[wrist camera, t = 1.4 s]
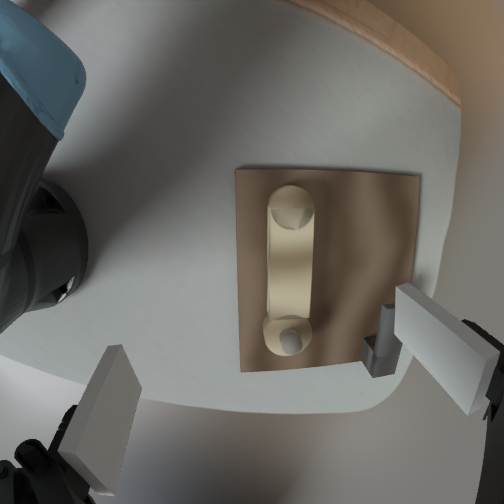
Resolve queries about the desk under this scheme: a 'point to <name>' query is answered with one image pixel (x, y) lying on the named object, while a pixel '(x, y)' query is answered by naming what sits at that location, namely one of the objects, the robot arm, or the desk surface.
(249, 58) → the desk surface
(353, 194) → the keeper board
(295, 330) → the link
